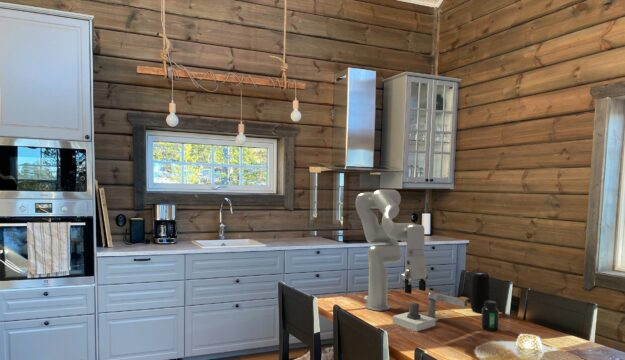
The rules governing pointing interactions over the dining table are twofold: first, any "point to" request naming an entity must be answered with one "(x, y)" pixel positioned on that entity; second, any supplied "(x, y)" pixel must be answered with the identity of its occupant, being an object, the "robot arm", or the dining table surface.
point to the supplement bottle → (490, 316)
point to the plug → (414, 311)
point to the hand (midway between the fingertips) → (415, 291)
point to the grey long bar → (448, 299)
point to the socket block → (419, 323)
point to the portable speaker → (479, 290)
